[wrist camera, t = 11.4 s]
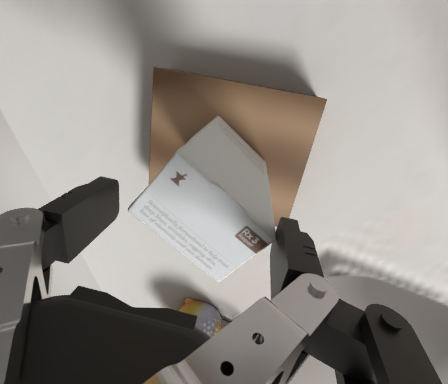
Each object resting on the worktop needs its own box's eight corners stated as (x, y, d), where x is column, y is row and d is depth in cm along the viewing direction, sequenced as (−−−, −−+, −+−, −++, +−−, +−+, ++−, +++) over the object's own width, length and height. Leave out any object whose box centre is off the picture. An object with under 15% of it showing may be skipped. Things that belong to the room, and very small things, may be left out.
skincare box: (187, 149, 23) (115, 212, 12) (220, 111, 21) (172, 144, 10) (236, 194, 24) (212, 291, 13) (271, 161, 22) (279, 241, 11)
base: (170, 69, 24) (153, 67, 20) (317, 96, 23) (327, 99, 19) (162, 183, 29) (148, 198, 25) (282, 209, 28) (285, 228, 24)
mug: (173, 321, 38) (156, 366, 32) (183, 290, 35) (166, 334, 29) (247, 346, 38) (244, 396, 32) (263, 318, 35) (263, 367, 29)
